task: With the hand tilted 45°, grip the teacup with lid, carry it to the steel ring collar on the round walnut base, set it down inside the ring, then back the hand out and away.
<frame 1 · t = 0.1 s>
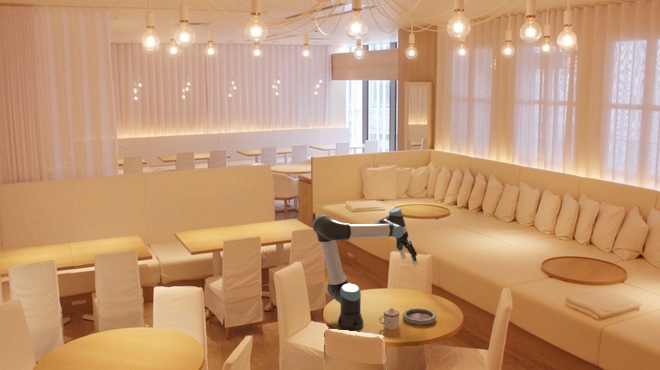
hand: (409, 261, 402), 28 cm above the table, tool tilted 20°, fingers open, 13 cm apart
ring collar: (419, 319, 383), on the table
teacup with lid: (389, 327, 372), on the table
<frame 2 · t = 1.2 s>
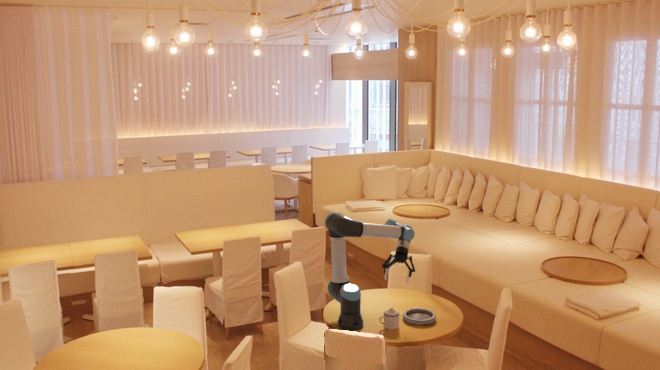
hand: (396, 280, 381), 24 cm above the table, tool tilted 45°, fingers open, 13 cm apart
nothing on the table moved.
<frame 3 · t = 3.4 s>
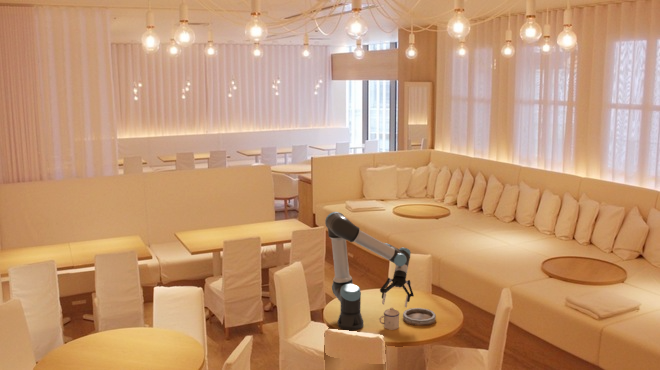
hand: (394, 305, 376), 11 cm above the table, tool tilted 45°, fingers open, 13 cm apart
nothing on the table moved.
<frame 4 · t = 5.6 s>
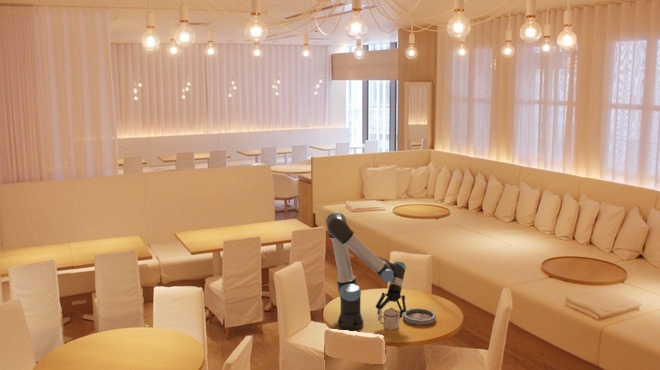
hand: (388, 321, 369), 5 cm above the table, tool tilted 45°, fingers closed on teacup with lid, 11 cm apart
teacup with lid: (388, 327, 372), on the table, touching gripper
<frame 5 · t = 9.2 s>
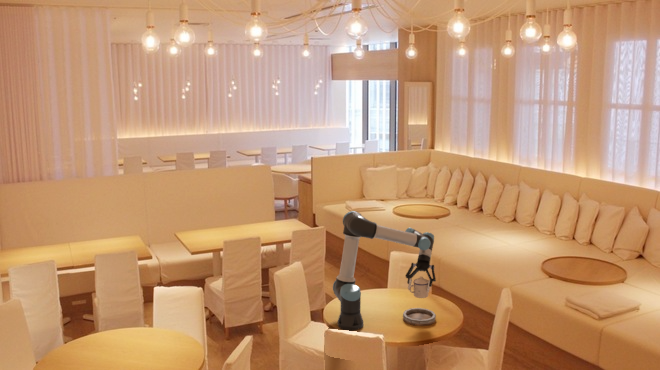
hand: (418, 290, 376), 20 cm above the table, tool tilted 45°, fingers closed on teacup with lid, 11 cm apart
teacup with lid: (418, 296, 380), point 15 cm above the table, touching gripper
when the fingers open (7 cm above the table, at t = 12.8 s): teacup with lid drops 1 cm, resting on ring collar.
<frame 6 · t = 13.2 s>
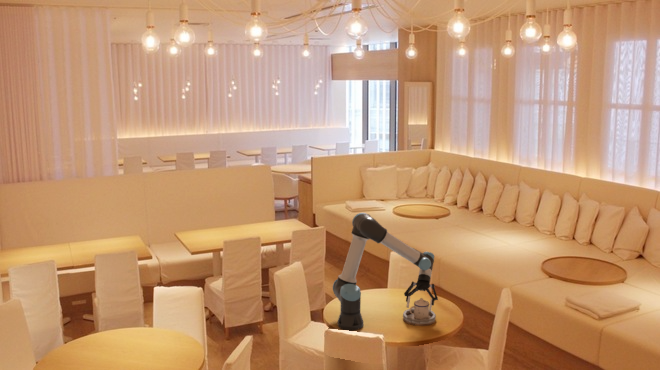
hand: (418, 308, 379), 8 cm above the table, tool tilted 45°, fingers open, 13 cm apart
teacup with lid: (418, 317, 383), point 1 cm above the table, touching ring collar
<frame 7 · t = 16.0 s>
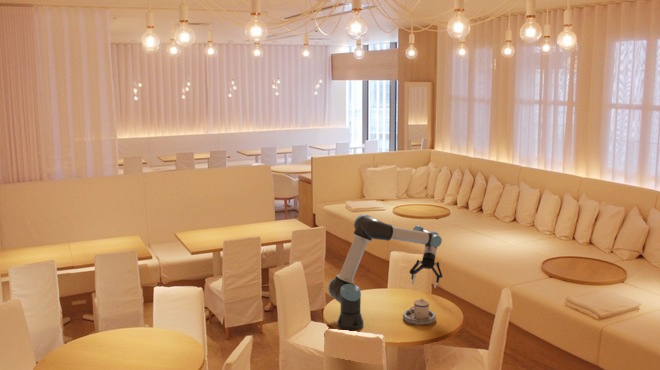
hand: (423, 285, 389), 17 cm above the table, tool tilted 45°, fingers open, 13 cm apart
nothing on the table moved.
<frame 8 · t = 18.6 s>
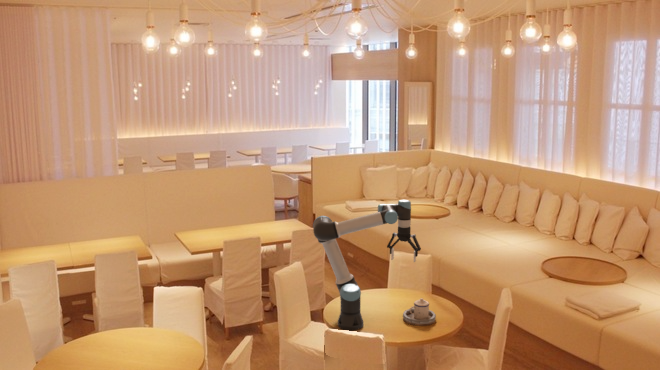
hand: (403, 260, 383), 35 cm above the table, tool pointing down, fingers open, 13 cm apart
nothing on the table moved.
at the end: teacup with lid 0.2 cm off-centre on the ring collar, point 1.0 cm above the ring collar's base; teacup with lid tilted 0°; the gripper is holding nothing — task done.
